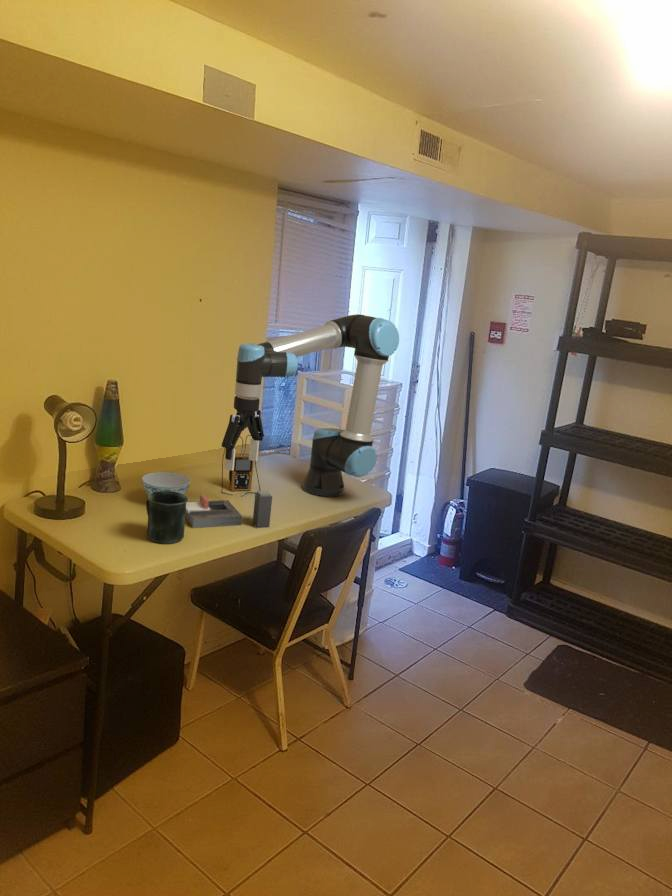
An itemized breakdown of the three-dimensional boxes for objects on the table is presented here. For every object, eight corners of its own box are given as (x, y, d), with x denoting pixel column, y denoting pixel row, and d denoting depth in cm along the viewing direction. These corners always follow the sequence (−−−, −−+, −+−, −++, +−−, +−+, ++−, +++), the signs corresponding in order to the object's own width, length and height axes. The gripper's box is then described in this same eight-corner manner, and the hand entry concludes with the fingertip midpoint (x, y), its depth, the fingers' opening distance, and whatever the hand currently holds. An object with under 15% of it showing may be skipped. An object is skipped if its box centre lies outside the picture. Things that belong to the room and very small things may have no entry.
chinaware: (139, 509, 215) (140, 485, 213) (142, 493, 229) (143, 470, 227) (188, 511, 218) (190, 487, 216) (188, 495, 232) (190, 473, 230)
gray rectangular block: (264, 522, 216) (267, 490, 214) (269, 527, 213) (272, 494, 210) (252, 523, 215) (255, 490, 212) (256, 528, 211) (260, 495, 208)
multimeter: (224, 498, 233) (229, 441, 228) (218, 489, 242) (223, 433, 237) (267, 498, 239) (272, 442, 234) (259, 488, 248) (264, 434, 243)
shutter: (203, 503, 217) (204, 493, 216) (209, 511, 211) (210, 501, 210) (182, 504, 214) (182, 494, 213) (187, 512, 208) (188, 502, 207)
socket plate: (227, 508, 224) (228, 498, 223) (241, 525, 212) (242, 514, 211) (181, 511, 217) (181, 500, 216) (192, 528, 205) (193, 516, 204)
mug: (161, 548, 189) (163, 507, 186) (130, 531, 197) (132, 491, 194) (193, 540, 197) (196, 500, 194) (162, 523, 206) (164, 485, 203)
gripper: (257, 389, 219) (252, 454, 224) (212, 399, 197) (207, 470, 202) (278, 394, 216) (272, 459, 221) (235, 404, 194) (229, 476, 199)
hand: (241, 464), depth 212 cm, fingers open, 13 cm apart
